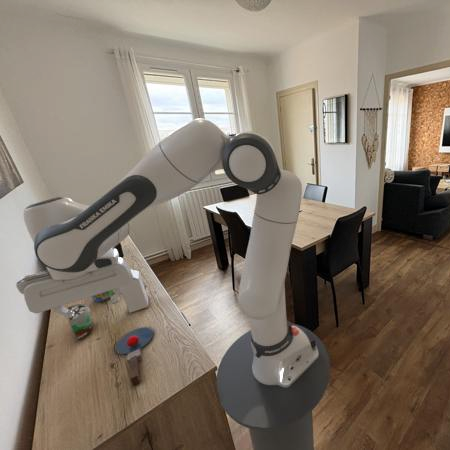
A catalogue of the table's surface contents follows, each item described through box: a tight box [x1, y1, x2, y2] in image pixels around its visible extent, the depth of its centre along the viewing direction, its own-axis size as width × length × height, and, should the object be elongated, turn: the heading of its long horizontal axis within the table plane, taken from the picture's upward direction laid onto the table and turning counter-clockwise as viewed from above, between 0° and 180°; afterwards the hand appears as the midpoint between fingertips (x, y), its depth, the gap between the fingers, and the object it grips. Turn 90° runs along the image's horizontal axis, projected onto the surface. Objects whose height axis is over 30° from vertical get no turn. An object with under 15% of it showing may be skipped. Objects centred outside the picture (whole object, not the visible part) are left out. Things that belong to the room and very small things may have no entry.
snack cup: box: [90, 290, 115, 303], centre depth 114 cm, size 16×10×10 cm
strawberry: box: [127, 336, 139, 347], centre depth 86 cm, size 4×4×4 cm
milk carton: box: [120, 268, 149, 313], centre depth 105 cm, size 7×7×19 cm
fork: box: [126, 349, 143, 386], centre depth 79 cm, size 14×4×3 cm, turn 34°
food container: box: [66, 303, 95, 341], centre depth 95 cm, size 12×6×10 cm, turn 44°
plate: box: [115, 327, 154, 356], centre depth 90 cm, size 12×12×1 cm
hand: (94, 309), depth 63 cm, fingers open, 8 cm apart
